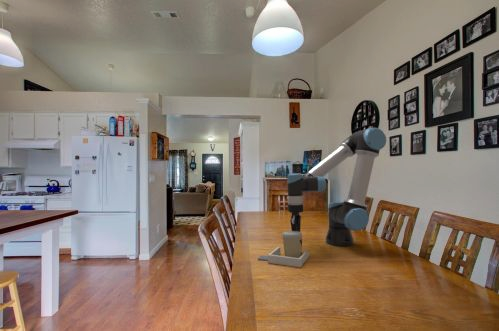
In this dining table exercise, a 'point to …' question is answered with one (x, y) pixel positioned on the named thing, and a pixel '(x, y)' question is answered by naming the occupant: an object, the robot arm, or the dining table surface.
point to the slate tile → (263, 258)
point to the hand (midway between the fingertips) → (296, 250)
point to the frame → (287, 258)
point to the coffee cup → (292, 244)
